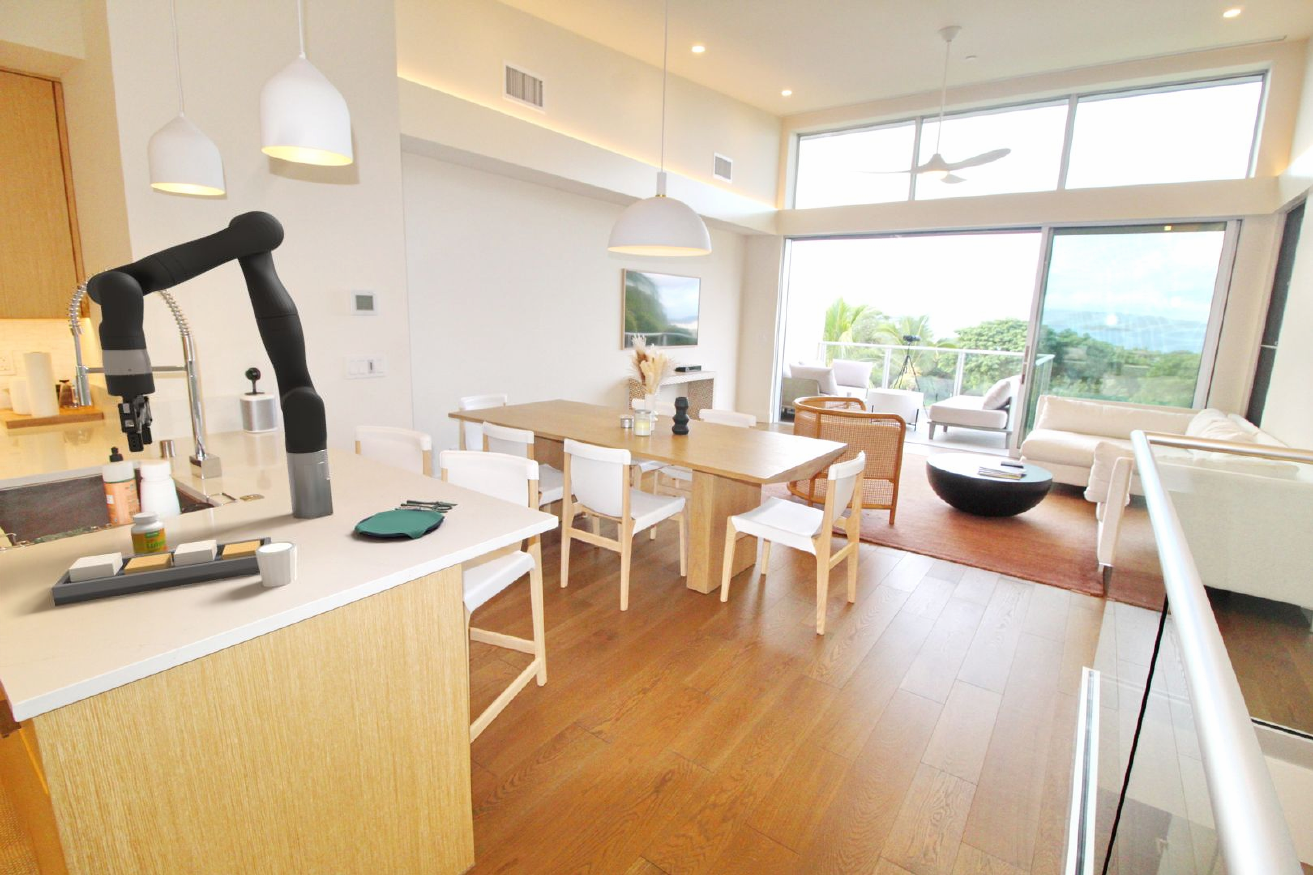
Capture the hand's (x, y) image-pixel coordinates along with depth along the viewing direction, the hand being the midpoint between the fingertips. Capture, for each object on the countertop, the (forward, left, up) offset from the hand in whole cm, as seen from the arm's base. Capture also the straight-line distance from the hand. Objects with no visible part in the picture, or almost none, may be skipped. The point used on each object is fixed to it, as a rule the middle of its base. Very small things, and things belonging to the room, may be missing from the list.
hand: (141, 447), depth 127 cm
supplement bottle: (0, +5, -23) cm, 24 cm away
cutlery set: (-52, +4, -24) cm, 57 cm away
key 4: (+5, +19, -20) cm, 28 cm away
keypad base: (-6, +19, -23) cm, 30 cm away
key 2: (-10, +19, -20) cm, 29 cm away
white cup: (-24, +31, -23) cm, 45 cm away
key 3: (-2, +19, -22) cm, 29 cm away
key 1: (-17, +19, -22) cm, 33 cm away
